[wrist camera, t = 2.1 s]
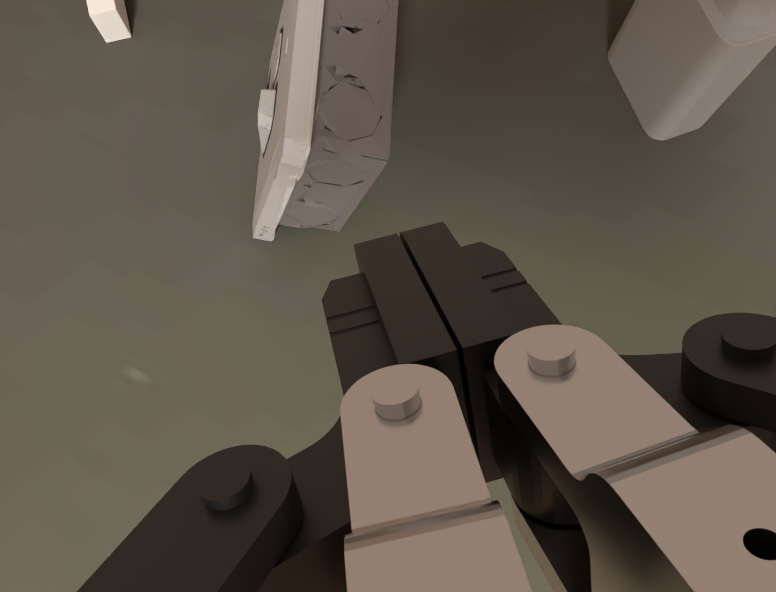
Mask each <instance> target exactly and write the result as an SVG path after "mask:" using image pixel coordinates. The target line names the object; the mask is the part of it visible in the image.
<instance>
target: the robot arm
mask: <svg viewBox="0 0 776 592" xmlns="http://www.w3.org/2000/svg"><path fill="white" fill-rule="evenodd" d="M354 248H355V253H356V258H357V262H358V267H359V271H360V273H359V274H355V275H352V276H348V277H344V278H340V279H336V280H332V281H330V283H329V286H328V288H327V290H326V292H325V294H324V296H323V298H322V303H323V307H324V312H325V316H326V320H327V325H328V329H329V333H330V338H331V342H332V346H333V351H334V355H335V359H336V364H337V368H338V372H339V377H340V381H341V385H342V390H343V394H344V397H343V399H342V403H341V407H340V414H341V415H340V417H339V419H338V421H337V422H336V424H335V425H334V426H333V428H332V429H331V430H330V431H329V432H328V433H327V434H326V435H325V436H324V437H322V438H321V439H320V440H319V441H317V442H316V443H314V444H313V445H311V446H310V447H308V448H306V449H304V450H303V451H301V452H299V453H297V454H295V455H293V456H292V457H290V458H288V459H285V458H284V457H283V456H282V455H281V454H280V453H279V452H277V451H276V450H274V449H272V448H269V447H266V446H260V445H241V446H235V447H231V448H227V449H224V450H221V451H218V452H216V453H214V454H212V455H210V456H208V457H206V458H204V459H203V460H201V461H199V462H198V463H197V464H195V465H194V466H193V467H191V468H190V469H189V470H188V471H187V472H186V473H185V474H184V475H183V476H182V477H181V478H180V479H179V480H178V481H177V482H176V483H175V484H174V485H173V487H172V488H171V489H170V490H169V491H168V492H167V493H166V494H165V495H164V496H163V498H162V499H161V500H160V501H159V502H158V503H157V504H156V505H155V506H154V507H153V509H152V510H151V511H150V512H149V513H148V514H147V515H146V516H145V517H144V518H143V520H142V521H141V522H140V523H139V524H138V525H137V526H136V527H135V528H134V529H133V531H132V532H131V533H130V534H129V535H128V536H127V537H126V538H125V539H124V540H123V542H122V543H121V544H120V545H119V546H118V547H117V548H116V549H115V550H114V551H113V553H112V554H111V555H110V556H109V557H108V558H107V559H106V560H105V561H104V562H103V564H102V565H101V566H100V567H99V568H98V569H97V570H96V571H95V572H94V573H93V575H92V576H91V577H90V578H89V579H88V580H87V581H86V582H85V583H84V584H83V585H82V587H81V588H80V589H79V590H78V591H77V592H532V591H531V588H530V585H529V582H528V579H527V576H526V573H525V571H524V568H523V565H522V562H521V559H520V556H519V553H518V551H517V548H516V545H515V542H514V539H513V536H512V533H511V531H510V528H509V525H508V522H507V519H506V517H505V514H504V512H503V509H502V507H501V505H500V503H499V502H498V501H497V500H495V501H492V500H491V497H490V495H489V492H488V489H487V486H486V483H487V482H490V481H494V480H497V479H501V478H504V480H505V482H506V484H507V486H508V488H509V490H510V492H511V498H512V506H513V514H514V519H515V523H516V525H517V527H518V529H519V531H520V533H521V535H522V536H523V538H524V540H525V542H526V543H527V545H528V547H529V549H530V550H531V552H532V554H533V556H534V557H535V559H536V561H537V563H538V564H539V566H540V568H541V570H542V571H543V573H544V575H545V576H546V578H547V580H548V582H549V583H550V585H551V587H552V589H553V590H554V592H776V318H775V317H770V316H765V315H760V314H752V313H728V314H720V315H715V316H711V317H708V318H705V319H703V320H701V321H699V322H697V323H695V324H694V325H692V326H691V327H690V328H689V329H688V330H687V331H686V333H685V335H684V337H683V342H682V353H673V354H655V355H618V354H616V353H615V352H614V351H613V350H612V349H611V348H610V347H609V346H608V345H607V344H606V343H605V342H604V341H603V340H602V339H600V338H599V337H598V336H597V335H595V334H593V333H591V332H589V331H587V330H584V329H581V328H578V327H574V326H567V325H562V324H561V323H560V322H559V320H558V319H557V318H556V317H555V315H554V314H553V313H552V312H551V310H550V309H549V308H548V307H547V305H546V304H545V303H544V302H543V300H542V299H541V298H540V297H539V295H538V294H537V293H536V292H535V290H534V289H533V288H532V287H531V285H530V284H527V280H526V279H525V278H524V277H523V275H522V274H521V273H520V272H519V271H517V269H516V267H515V265H514V264H513V263H512V262H511V260H510V259H509V258H508V257H507V255H506V254H505V253H504V252H503V251H500V250H498V249H496V248H494V247H491V246H489V245H487V244H485V243H482V242H478V243H474V244H470V245H466V246H463V247H460V245H459V244H458V242H457V241H456V239H455V238H454V237H453V235H452V234H451V232H450V231H449V229H448V228H447V226H446V225H445V224H444V222H440V223H436V224H432V225H428V226H424V227H420V228H416V229H412V230H408V231H404V232H400V238H399V236H398V235H397V234H393V235H389V236H385V237H381V238H378V239H374V240H370V241H366V242H362V243H358V244H354Z"/></svg>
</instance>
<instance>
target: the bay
mask: <svg viewBox="0 0 776 592" xmlns="http://www.w3.org/2000/svg"><path fill="white" fill-rule="evenodd" d="M87 5H88V11H89V16H90V17H91V19H92V20H93V22H94V24H95V25H96V27H97V28H98V30H99V31H100V33H101V35H102V36H103V38H104V39H105V41H106V42H107V43H108V42H113V41H117V40H121V39H126V38H130V37H132V36H131V31H130V27H129V22H128V17H127V12H126V7H125V3H124V0H87Z"/></svg>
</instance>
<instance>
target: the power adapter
mask: <svg viewBox="0 0 776 592" xmlns="http://www.w3.org/2000/svg"><path fill="white" fill-rule="evenodd" d="M775 45H776V0H635V2H634V4H633V5H632V7H631V9H630V11H629V13H628V15H627V17H626V19H625V21H624V22H623V24H622V26H621V28H620V30H619V32H618V34H617V36H616V38H615V39H614V41H613V43H612V45H611V47H610V49H609V51H608V54H607V55H608V60H609V63H610V65H611V67H612V69H613V71H614V73H615V75H616V77H617V79H618V81H619V83H620V84H621V86H622V88H623V90H624V92H625V94H626V96H627V98H628V100H629V102H630V104H631V106H632V108H633V110H634V112H635V114H636V116H637V118H638V120H639V121H640V123H641V125H642V127H643V129H644V131H645V132H646V134H647V135H648V136H649V137H651V138H653V139H655V140H667V139H670V138H673V137H676V136H679V135H682V134H685V133H687V132H690V131H693V130H696V129H698V128H700V127H701V126H702V125H703V124H704V123H705V122H706V121H707V120H708V119H709V118H710V117H711V115H712V114H713V113H714V112H715V111H716V110H717V109H718V108H719V107H720V106H721V104H722V103H723V102H724V101H725V100H726V99H727V98H728V97H729V96H730V95H731V93H732V92H733V91H734V90H735V89H736V88H737V87H738V86H739V85H740V84H741V82H742V81H743V80H744V79H745V78H746V77H747V76H748V75H749V74H750V73H751V71H752V70H753V69H754V68H755V67H756V66H757V65H758V64H759V63H760V62H761V60H762V59H763V58H764V57H765V56H766V55H767V54H768V53H769V52H770V51H771V50H772V48H773V47H774V46H775Z"/></svg>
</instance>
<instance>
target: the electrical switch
mask: <svg viewBox="0 0 776 592" xmlns="http://www.w3.org/2000/svg"><path fill="white" fill-rule="evenodd" d="M397 17H398V0H284V3H283V7H282V11H281V16H280V20H279V24H278V28H277V33H276V37H275V41H274V46H273V51H272V56H271V60H270V67H269V76H268V85H267V89H262V90H261V95H260V102H259V109H258V129H259V136H260V142H261V149H260V159H259V168H258V177H257V186H256V195H255V205H254V214H253V238H256V239H261V240H266V241H272V240H274V236H275V232H276V228H277V226H278V224H279V225H285V226H291V227H297V228H310V227H313V228H319V229H326V230H332V231H338V232H339V231H340V229H341V228H342V227H343V225H344V224H345V222H346V221H347V219H348V218H349V217H350V215H351V214H352V212H353V211H354V210H355V208H356V207H357V205H358V204H359V202H360V201H361V200H362V198H363V197H364V195H365V194H366V193H367V191H368V190H369V188H370V187H371V185H372V184H373V183H374V181H375V180H376V178H377V177H378V176H379V174H380V173H381V171H382V170H383V168H384V167H385V166H386V164H387V163H388V162H385V161H381V160H377V159H383V160H389V153H390V136H391V119H392V102H393V85H394V68H395V51H396V34H397ZM379 20H380V21H379ZM378 21H379V23H377V22H378ZM359 87H363V88H364V89H365V90H364V89H361V88H359ZM380 115H381V116H382V118H381V119H380V121H379V118H380ZM378 121H379V122H378ZM359 155H360V156H359ZM363 156H366V157H363ZM368 157H372V158H377V159H372V158H368Z"/></svg>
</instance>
